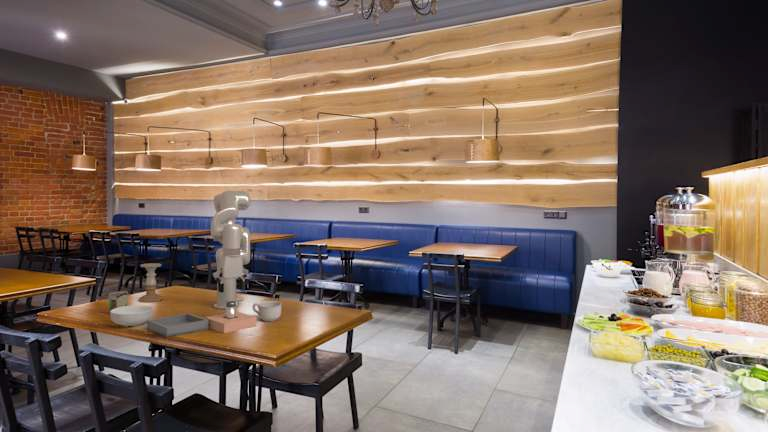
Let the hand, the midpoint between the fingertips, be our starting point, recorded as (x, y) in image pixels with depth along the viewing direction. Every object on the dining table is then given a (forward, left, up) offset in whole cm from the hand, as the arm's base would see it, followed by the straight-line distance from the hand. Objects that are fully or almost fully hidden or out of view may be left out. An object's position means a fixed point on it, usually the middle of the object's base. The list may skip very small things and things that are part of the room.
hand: (231, 290), depth 200 cm
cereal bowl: (+28, -34, -16) cm, 47 cm away
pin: (0, 0, -16) cm, 16 cm away
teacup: (-18, +2, -16) cm, 24 cm away
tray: (+18, -12, -16) cm, 27 cm away
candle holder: (0, -80, -16) cm, 82 cm away
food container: (+25, -61, -16) cm, 68 cm away
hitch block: (0, 0, -16) cm, 16 cm away
